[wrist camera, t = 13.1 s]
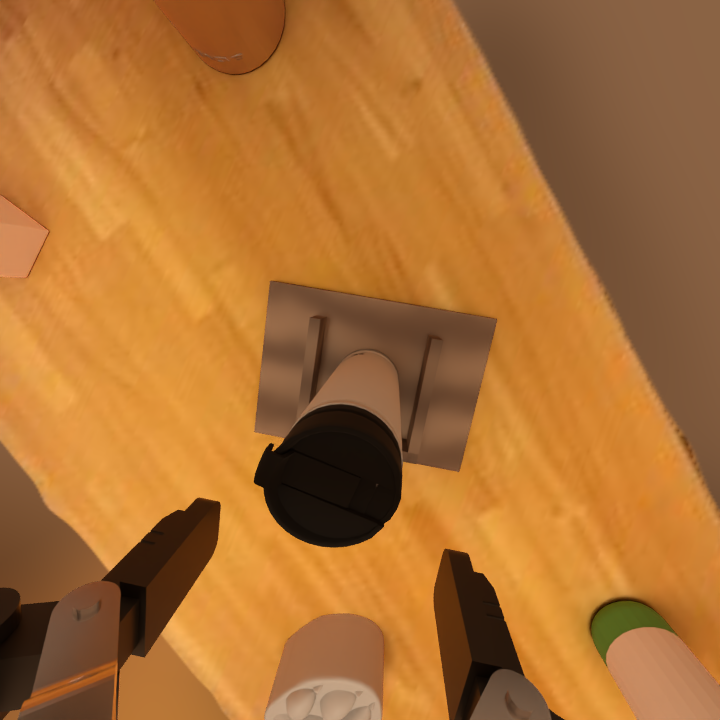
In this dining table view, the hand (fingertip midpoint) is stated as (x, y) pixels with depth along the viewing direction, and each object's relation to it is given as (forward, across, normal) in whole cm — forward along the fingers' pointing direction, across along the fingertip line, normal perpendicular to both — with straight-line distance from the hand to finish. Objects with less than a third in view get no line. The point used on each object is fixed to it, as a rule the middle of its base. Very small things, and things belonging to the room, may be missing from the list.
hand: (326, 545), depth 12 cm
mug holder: (+24, 0, 0) cm, 24 cm away
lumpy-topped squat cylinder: (+24, -2, +36) cm, 43 cm away
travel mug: (+23, 0, 0) cm, 23 cm away
